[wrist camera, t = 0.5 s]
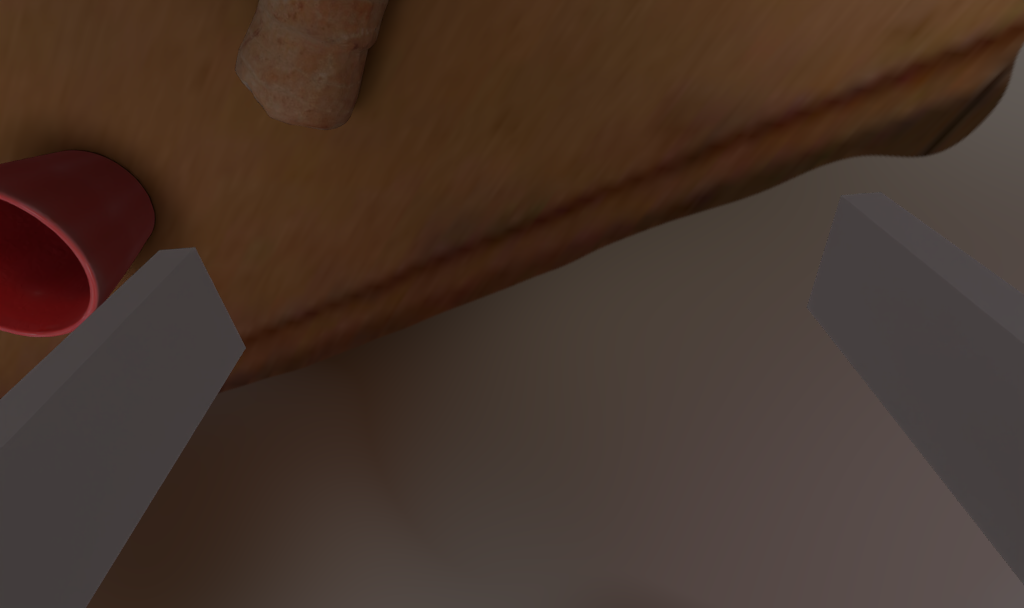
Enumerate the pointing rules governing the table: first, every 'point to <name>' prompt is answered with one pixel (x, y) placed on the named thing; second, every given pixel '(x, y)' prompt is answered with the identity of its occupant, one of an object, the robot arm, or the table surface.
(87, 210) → the flower pot
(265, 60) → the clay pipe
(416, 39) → the table surface
